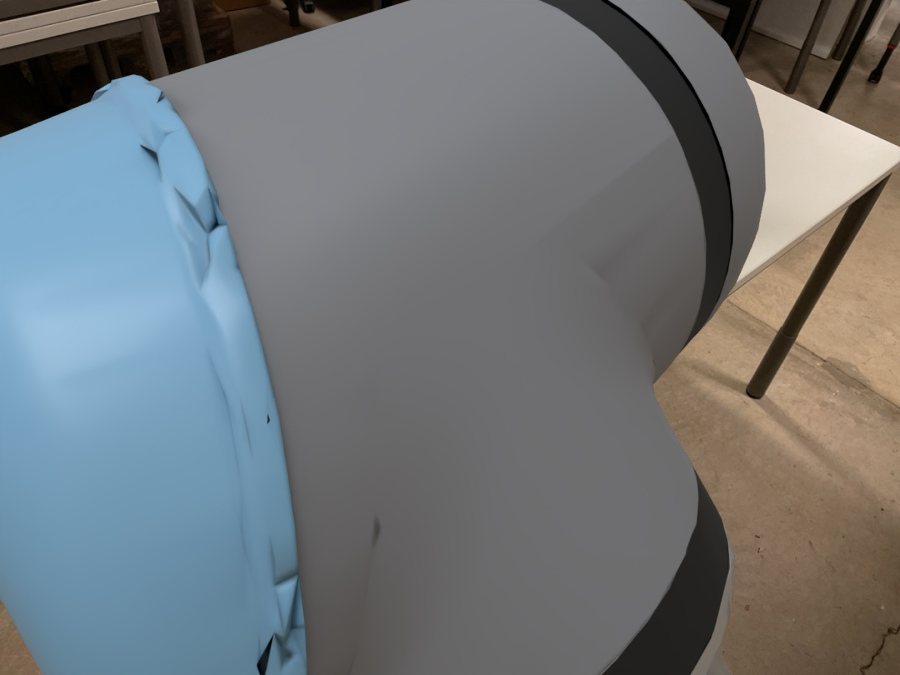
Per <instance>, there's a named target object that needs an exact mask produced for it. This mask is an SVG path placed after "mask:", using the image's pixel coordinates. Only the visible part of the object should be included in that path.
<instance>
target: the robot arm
mask: <svg viewBox="0 0 900 675" xmlns="http://www.w3.org/2000/svg"><path fill="white" fill-rule="evenodd" d="M766 181H767V180H766V146H765V134H764V128H763V125H762V120H761V117H760V112H759V109H758V105H757V101H756V98H755V94H754V93H753V91H752V88H751V86H750V85H749V83H748V81H747V79H746V76H745V75H744V73H743V71H742V69H741V67H740V64H739V63H738V61H737V59H736V57H735V56H734V54H733V52H732V50H731V48H730V46H729V44H728V43H727V42H726V40H724V38H723V37H722V36H721V35H720V34H719V33H718V32H717V31H716V30H715V29H714V28H713V27H712V26H711V24H709V23H708V22H707V21H706V20H705V19H704V18H703V17H702V16H701V15H700V14H699V13H698V12H697V11H696V10H695V9H694V8H693V7H692V6H691V5H689V3H687V1H685V0H407V1H403V2H400V3H397V4H394V5H391V6H387V7H385V8H382V9H377V10H375V11H371V12H368V13H365V14H362V15H358V16H356V17H353V18H349V19H346V20H343V21H339V22H336V23H332V24H330V25H325V26H323V27H320V28H317V29H313V30H310V31H307V32H304V33H301V34H296V35H294V36H291V37H288V38H284V39H282V40H279V41H275V42H272V43H268V44H265V45H263V46H259V47H256V48H253V49H249V50H246V51H243V52H239V53H236V54H234V55H230V56H226V57H224V58H221V59H217V60H215V61H211V62H208V63H204V64H201V65H198V66H194V67H191V68H189V69H185V70H182V71H180V72H179V71H178V72H175V73H172V74H169V75H166V76H162V77H159V78H155V79H153V80H150V81H149V80H148V79H146V78H145V77H143V76H142V75H137V74H130V75H126V76H124V77H123V76H122V77H120V78H116V79H112V80H111V82H110V83H108V84H106V85H104V86H102V87H101V88H99V89H98V90H96V91H95V92H94V94H93V96H92V97H91V100H90V101H89V102H87V103H84V104H82V105H79V106H77V107H74V108H71V109H69V110H67V111H65V112H62V113H59V114H57V115H54V116H51V117H49V118H47V119H44V120H42V121H39V122H37V123H34V124H32V125H30V126H26V127H24V128H22V129H19V130H17V131H14V132H11V133H9V134H6V135H3V136H1V137H0V601H1V603H2V605H3V606H4V609H5V610H6V612H7V614H8V615H9V618H10V619H11V621H12V623H13V624H14V626H15V628H16V630H17V632H18V634H19V635H20V638H21V639H22V641H23V643H24V645H25V647H26V648H27V650H28V652H29V654H30V655H31V658H32V659H33V661H34V663H35V664H36V666H37V668H38V670H39V672H40V673H41V675H734V674H733V672H732V671H731V670H730V668H729V666H728V664H727V662H726V661H725V659H724V657H723V655H722V654H721V652H720V648H721V646H722V643H723V640H724V637H725V633H726V630H727V626H728V623H729V619H730V616H731V614H732V606H733V599H734V597H733V596H734V590H735V554H734V550H733V545H732V542H731V538H730V535H729V531H728V529H727V526H726V525H725V521H724V520H723V518H722V516H721V514H720V513H719V510H718V509H717V506H716V505H715V503H714V501H713V500H712V497H711V495H710V494H709V491H708V490H707V488H706V487H705V484H704V483H703V481H702V480H701V478H700V476H699V474H698V472H697V470H696V469H695V467H694V465H693V462H692V460H691V458H690V457H689V454H688V453H687V452H686V450H685V449H684V446H683V445H682V443H681V441H680V440H679V438H678V436H677V434H676V433H675V431H674V429H673V428H672V426H671V424H670V422H669V420H668V419H667V416H666V414H665V412H664V410H663V409H662V407H661V405H660V403H659V400H658V398H657V397H656V392H655V388H654V385H655V383H657V381H658V380H659V379H660V378H661V377H662V376H663V374H665V372H666V371H667V370H668V369H669V367H670V366H671V365H672V364H673V362H674V361H675V360H676V358H677V357H678V356H679V355H680V354H681V352H683V351H684V349H685V348H686V347H688V345H689V344H690V343H691V341H692V340H693V339H694V338H695V337H696V336H697V335H698V334H699V333H700V332H701V331H702V329H704V327H706V325H707V324H708V323H709V322H710V321H711V320H712V318H713V317H714V316H715V315H716V313H717V312H718V310H719V309H720V307H721V306H722V304H723V303H724V301H726V299H727V297H728V296H729V294H730V293H731V292H732V290H733V289H734V287H735V286H736V284H737V282H738V280H739V277H740V275H741V273H742V271H743V268H744V267H745V264H746V262H747V260H748V257H749V255H750V253H751V250H752V249H753V246H754V243H755V240H756V237H757V234H758V232H759V228H760V224H761V218H762V217H761V216H762V213H763V212H762V211H763V207H764V202H765V197H766V192H767V184H766Z"/></svg>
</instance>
